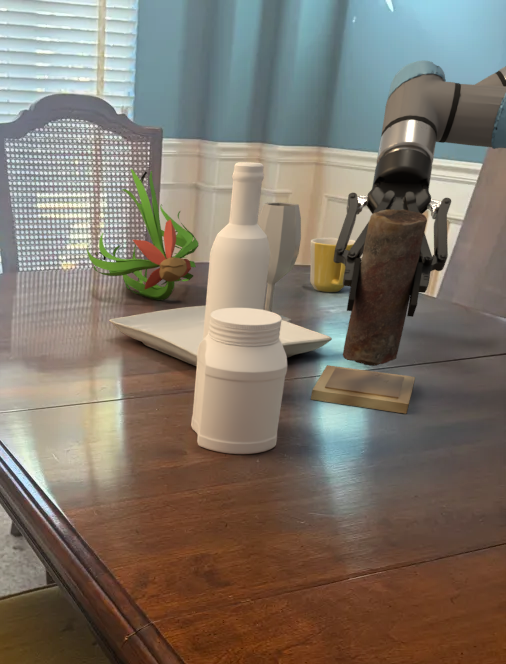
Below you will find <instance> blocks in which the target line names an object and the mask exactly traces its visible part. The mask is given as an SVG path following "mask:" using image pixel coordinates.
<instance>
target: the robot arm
mask: <svg viewBox="0 0 506 664" xmlns="http://www.w3.org/2000/svg"><path fill="white" fill-rule="evenodd" d="M384 107H385V109H384V117H383V122H382V129H381V136H380V139H379V146H378V152H377V157H376V165H375V169H374V175H373V181H372V186H371V189H370V191H368V193H367V194H366V195H359V196H358V194H357V193H356V192H350V193H349V194H348V196H347V202H346V215H345V218H344V220H343V224H342V226H341V230H340V233H339V235H338V237H337V238H338V241H337V244H336V247H335V252H334V262H335V263H343V264H344V265H345V272H344V278H343V286H344V287H349V295H348V301H347V306H346V312H351V311H352V310H353V305H354V300H355V294H356V288H357V282H358V276H359V271H360V265H361V260H362V256H363V250H364V245H365V239H366V234H367V229H368V224H369V221H368V222H367V223H366V224H365V226H364V227H363V229H362V231H361V232H360V234H359V236H358V237H357V238H356V240H355V243H354V244H353V246H352V247H351V249H350V250H349V251H348V250H346V248H347V245H348V242H349V240H351V237H352V232H353V230H354V226H355V223H356V220H357V215H359V214H360V213H362V212H363V209H364V207H367V209H368V210H369V212H370V213H371V215H372V214H373V213H376V212H379V211H382V210H386V209H387V210H389V209H390V210H393V209H394V210H408V211H411V212H416V213H421V214H423V215H424V213H426V212H427V211H430V216H431V218H432V220H434V222H433V255H432V252H431V249H430V245H429V243H428V239H427V236H426V233H425V232H424V236H423V240H422V245H421V249H420V254H419V258H418V263H417V267H416V271H415V275H414V280H413V285H412V290H411V294H410V299H409V304H408V308H407V313H406V316H407V317H411V318H412V317H414V316H415V312H416V310H417V307H418V301H419V300H418V299H419V294H420V293H423V294H426V292H427V290H428V287H429V285H430V278H431V272H433V271H436V272H442V271H443V270H444V268H445V266H446V264H447V260H448V258H449V257H448V256H449V253H448V251H449V248H448V214H449V210H450V207H451V204H452V199H451V198H449V197H444V198H442V200H437V199H433V198H432V195H431V193H430V185H431V184H430V183H431V178H432V169H433V164H434V158H435V151H436V145H437V143H442V144H444V143H447V144H454V145H455V144H456V145H464V146H473V147H483V148H492V149H493V150H495V149H506V65H505V66H503V67H502V68H500V69H499V70H498V71H496V72H494V73H492V74H490V75H488V76H487V77H485V78H483V79H481V80H480V81H478V82H477V83H474V84H471V83H460V82H454V81H446V74H445V71H444V70H443V68H442V67H441V66H439V65H437V64H435V63H434V62H433V61H430V60H417V61H412V62H410V63H408V64H406V65H404V66H402V68H400V69H399V71H398V72H397V73H396V74H395V75H394V76H393V78H392V81H391V83H390V86H389V91H388V95H387V100H386V104H385V105H384Z"/></svg>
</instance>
